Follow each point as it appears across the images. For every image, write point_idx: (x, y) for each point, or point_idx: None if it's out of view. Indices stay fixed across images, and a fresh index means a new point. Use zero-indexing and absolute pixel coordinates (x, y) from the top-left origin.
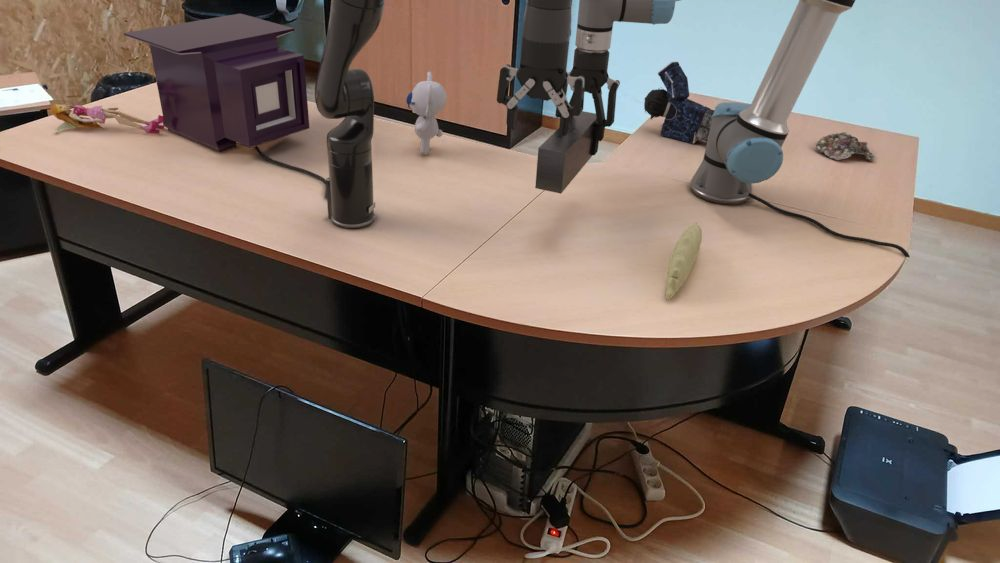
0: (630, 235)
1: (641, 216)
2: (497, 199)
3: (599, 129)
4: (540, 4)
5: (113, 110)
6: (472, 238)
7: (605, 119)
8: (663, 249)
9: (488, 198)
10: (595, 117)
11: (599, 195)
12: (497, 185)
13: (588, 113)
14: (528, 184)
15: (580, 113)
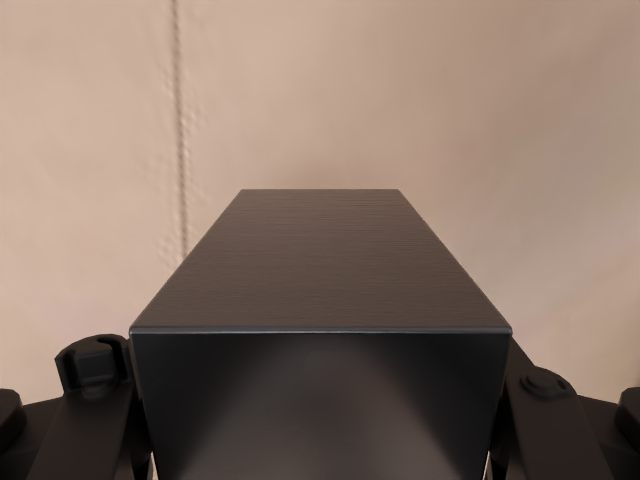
0: (520, 293)
1: (548, 155)
2: (87, 268)
3: None
4: None
5: None
6: None
7: (585, 417)
8: (612, 324)
9: (60, 275)
10: (459, 464)
11: (379, 54)
12: (19, 169)
13: (333, 377)
14: (104, 100)
15: (234, 426)
